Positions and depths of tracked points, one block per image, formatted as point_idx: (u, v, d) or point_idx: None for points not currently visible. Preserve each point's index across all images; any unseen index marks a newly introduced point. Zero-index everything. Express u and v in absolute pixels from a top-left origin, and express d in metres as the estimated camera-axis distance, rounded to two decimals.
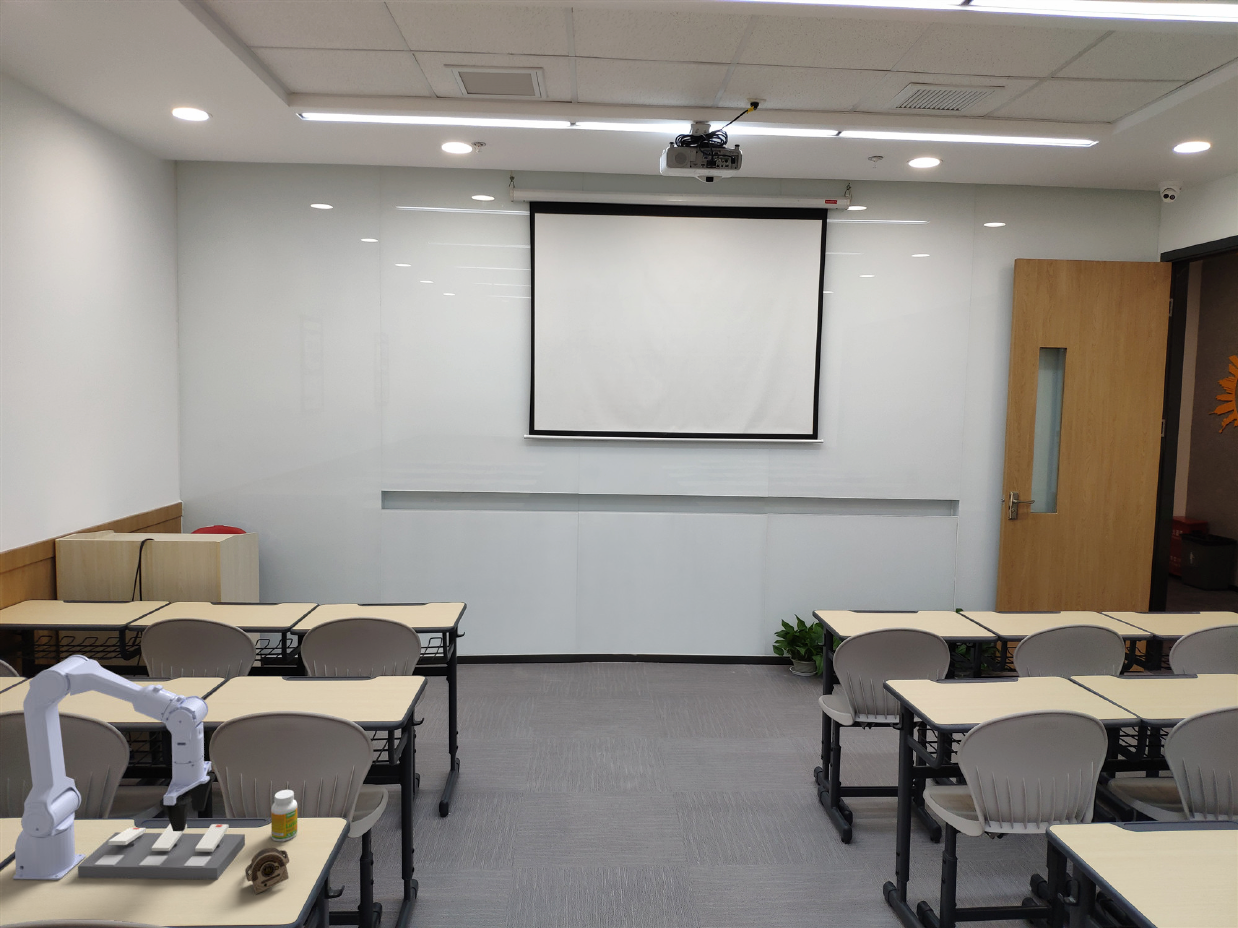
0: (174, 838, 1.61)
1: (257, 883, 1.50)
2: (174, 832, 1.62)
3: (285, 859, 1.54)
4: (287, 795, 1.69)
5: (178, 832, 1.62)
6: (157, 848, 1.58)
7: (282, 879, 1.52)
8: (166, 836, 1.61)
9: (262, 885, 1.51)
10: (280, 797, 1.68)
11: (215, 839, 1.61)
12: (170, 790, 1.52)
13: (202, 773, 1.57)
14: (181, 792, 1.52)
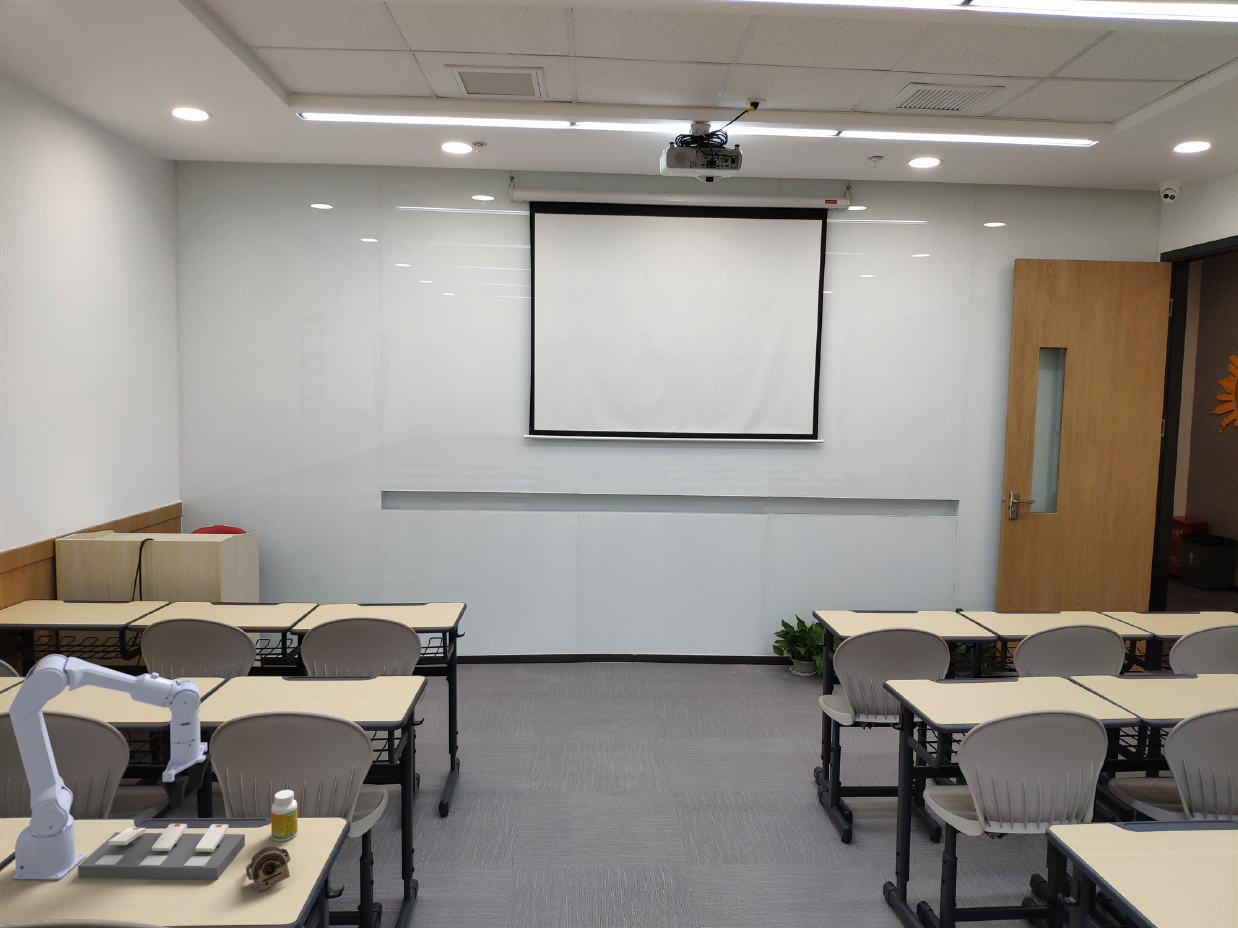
0: (174, 838, 1.61)
1: (258, 882, 1.51)
2: (174, 832, 1.62)
3: (286, 857, 1.54)
4: (287, 795, 1.69)
5: (178, 832, 1.62)
6: (157, 848, 1.58)
7: (283, 877, 1.53)
8: (166, 836, 1.61)
9: (263, 883, 1.51)
10: (280, 797, 1.68)
11: (215, 839, 1.61)
12: (169, 768, 1.62)
13: (199, 752, 1.67)
14: (179, 770, 1.62)
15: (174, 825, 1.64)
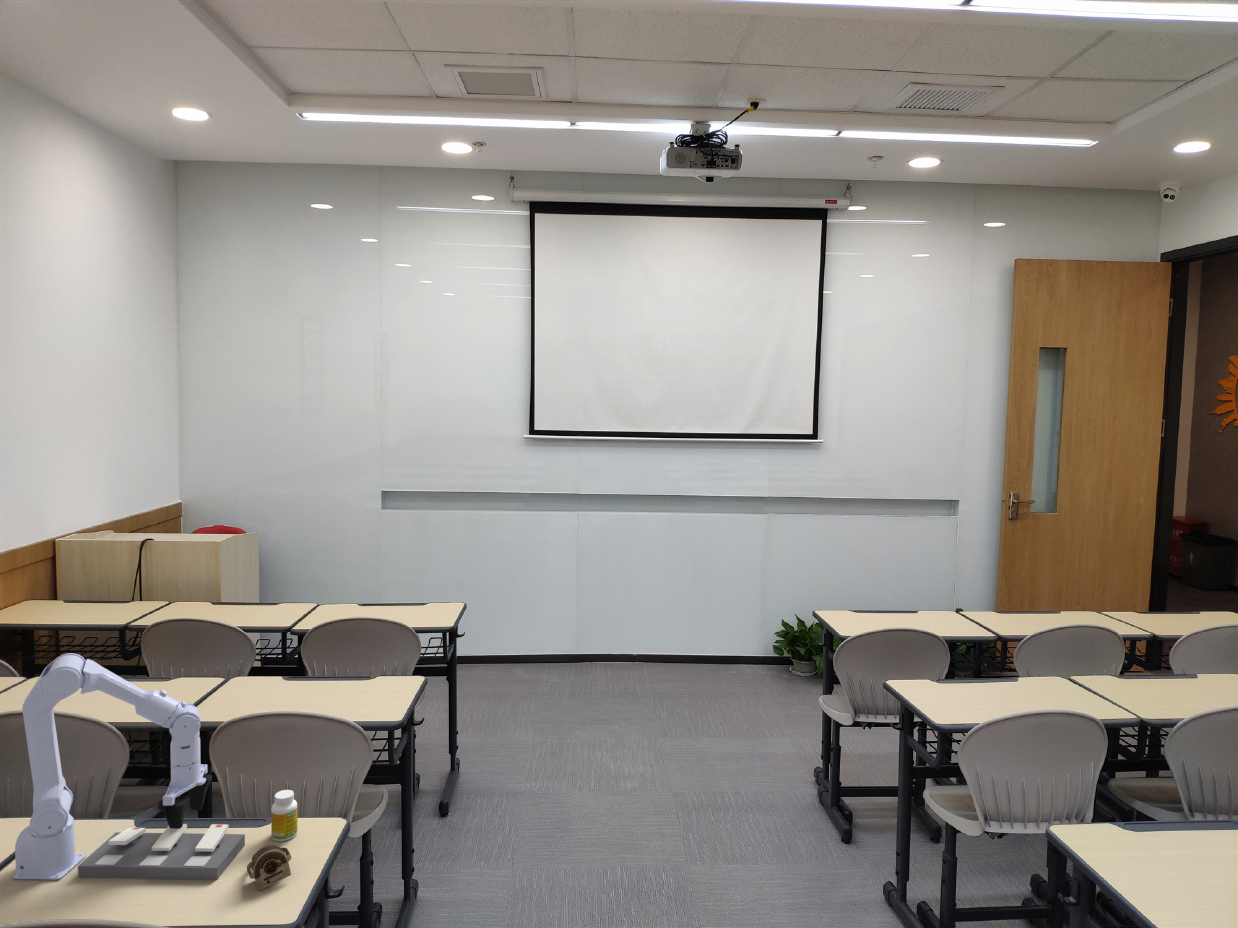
0: (174, 838, 1.61)
1: (260, 880, 1.51)
2: (174, 832, 1.62)
3: (287, 856, 1.55)
4: (287, 795, 1.69)
5: (178, 832, 1.62)
6: (157, 848, 1.58)
7: (285, 876, 1.54)
8: (166, 836, 1.61)
9: (265, 882, 1.52)
10: (280, 797, 1.68)
11: (215, 839, 1.61)
12: (169, 791, 1.63)
13: (199, 775, 1.68)
14: (179, 793, 1.62)
15: None
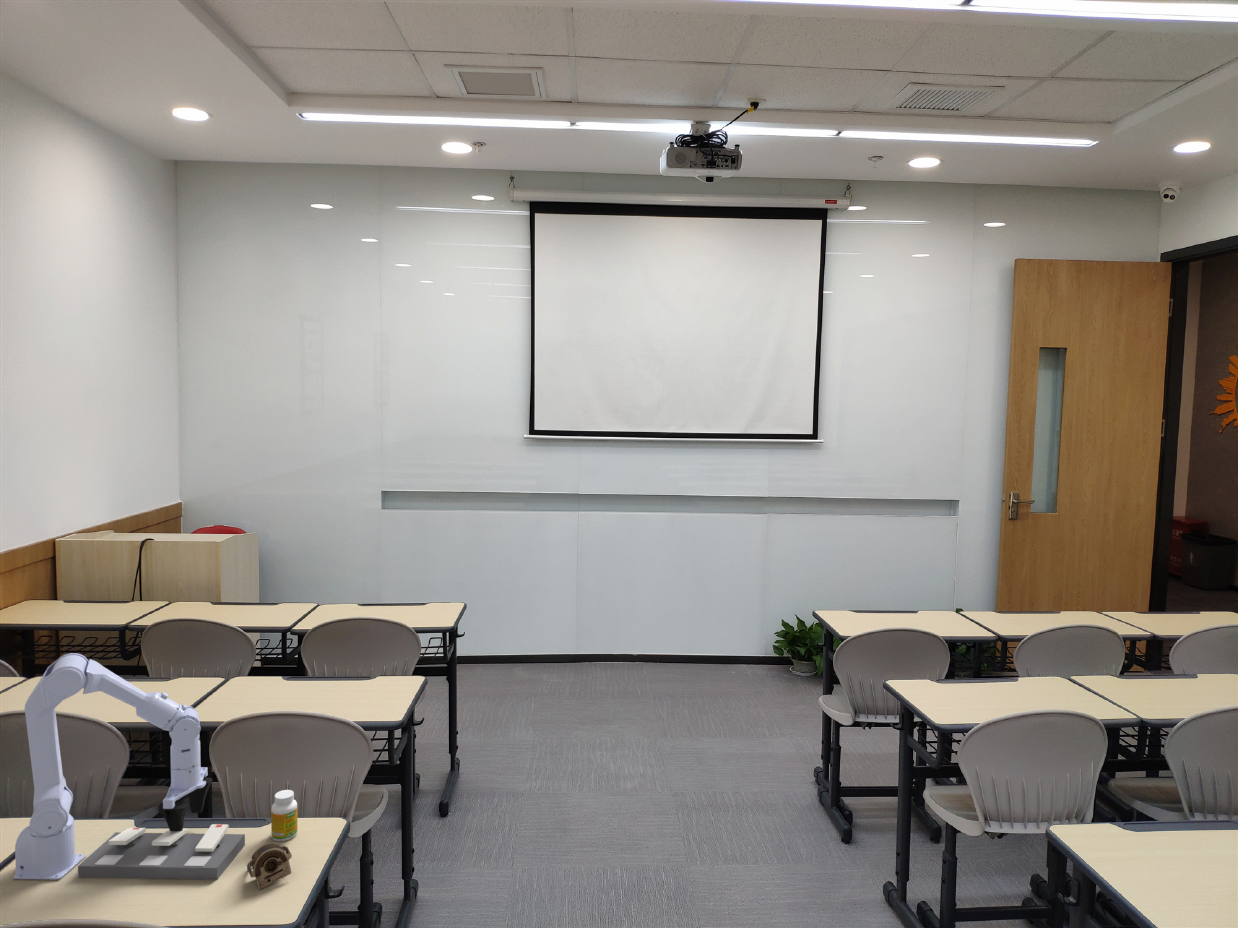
0: (175, 836, 1.61)
1: (260, 879, 1.52)
2: (175, 833, 1.63)
3: (288, 854, 1.55)
4: (287, 795, 1.69)
5: (179, 833, 1.63)
6: (157, 842, 1.58)
7: (285, 874, 1.54)
8: (167, 835, 1.61)
9: (265, 880, 1.52)
10: (280, 797, 1.68)
11: (215, 839, 1.61)
12: (169, 795, 1.63)
13: (199, 778, 1.68)
14: (179, 796, 1.62)
15: None
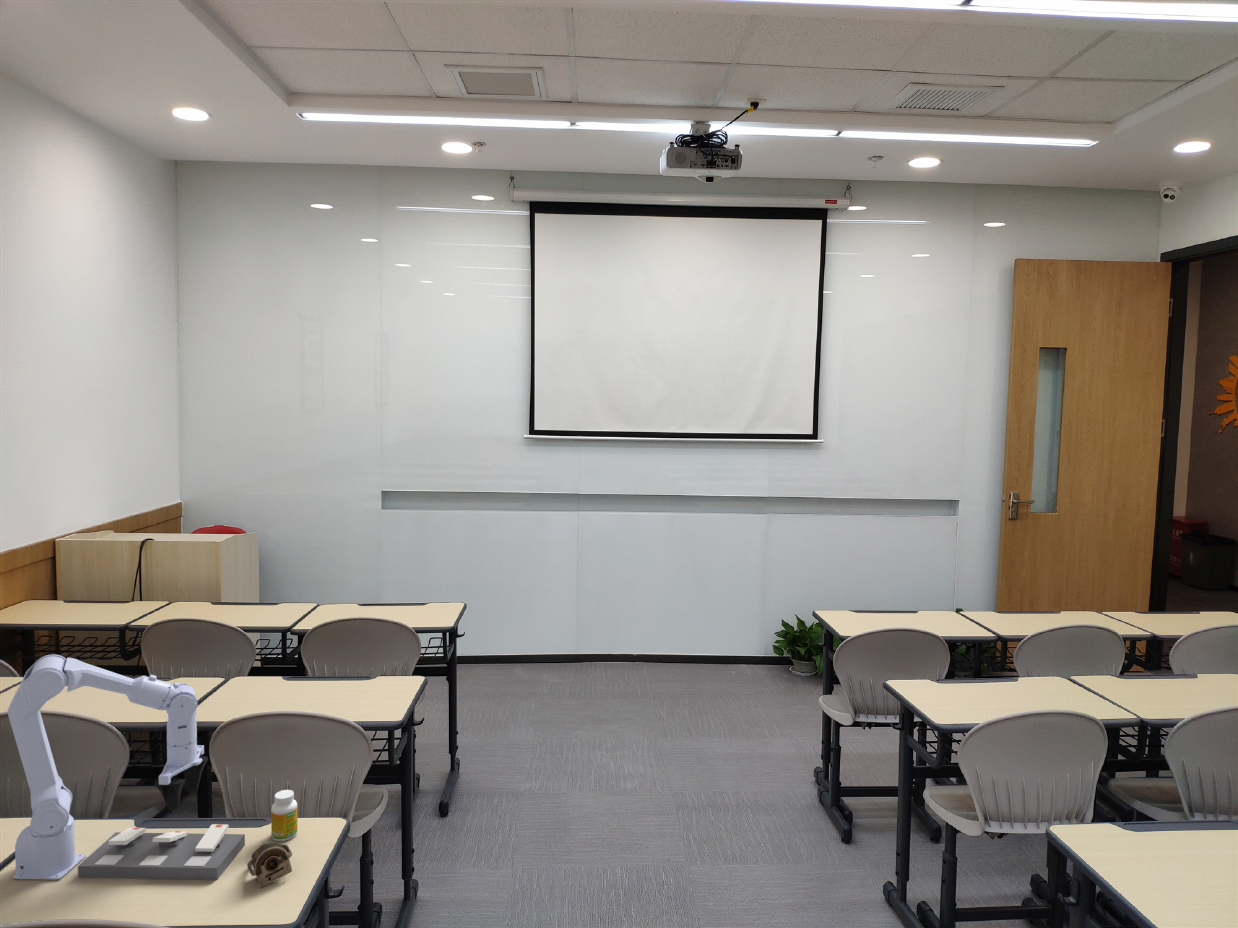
0: (175, 835, 1.61)
1: (261, 877, 1.52)
2: (175, 833, 1.63)
3: (288, 853, 1.56)
4: (287, 795, 1.69)
5: (179, 833, 1.63)
6: (158, 838, 1.58)
7: (286, 872, 1.55)
8: (167, 834, 1.61)
9: (266, 879, 1.53)
10: (280, 797, 1.68)
11: (215, 839, 1.61)
12: (165, 771, 1.63)
13: (195, 755, 1.68)
14: (175, 773, 1.62)
15: None
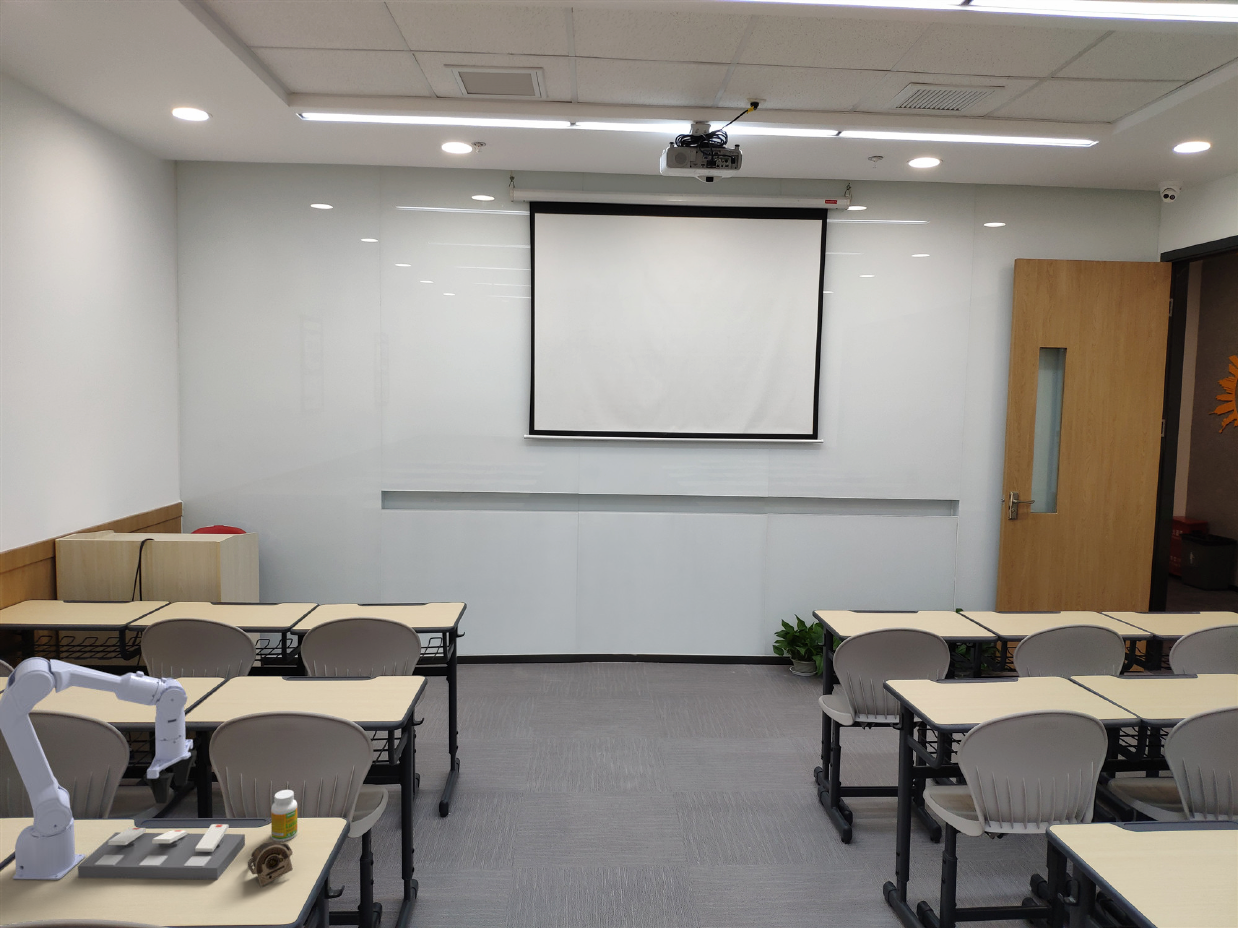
0: (175, 835, 1.61)
1: (262, 876, 1.53)
2: (175, 833, 1.63)
3: (289, 851, 1.56)
4: (287, 795, 1.69)
5: (179, 833, 1.63)
6: (158, 840, 1.58)
7: (286, 871, 1.55)
8: (167, 835, 1.61)
9: (267, 877, 1.53)
10: (280, 797, 1.68)
11: (215, 839, 1.61)
12: (153, 765, 1.63)
13: (184, 749, 1.68)
14: (164, 766, 1.63)
15: (175, 830, 1.65)
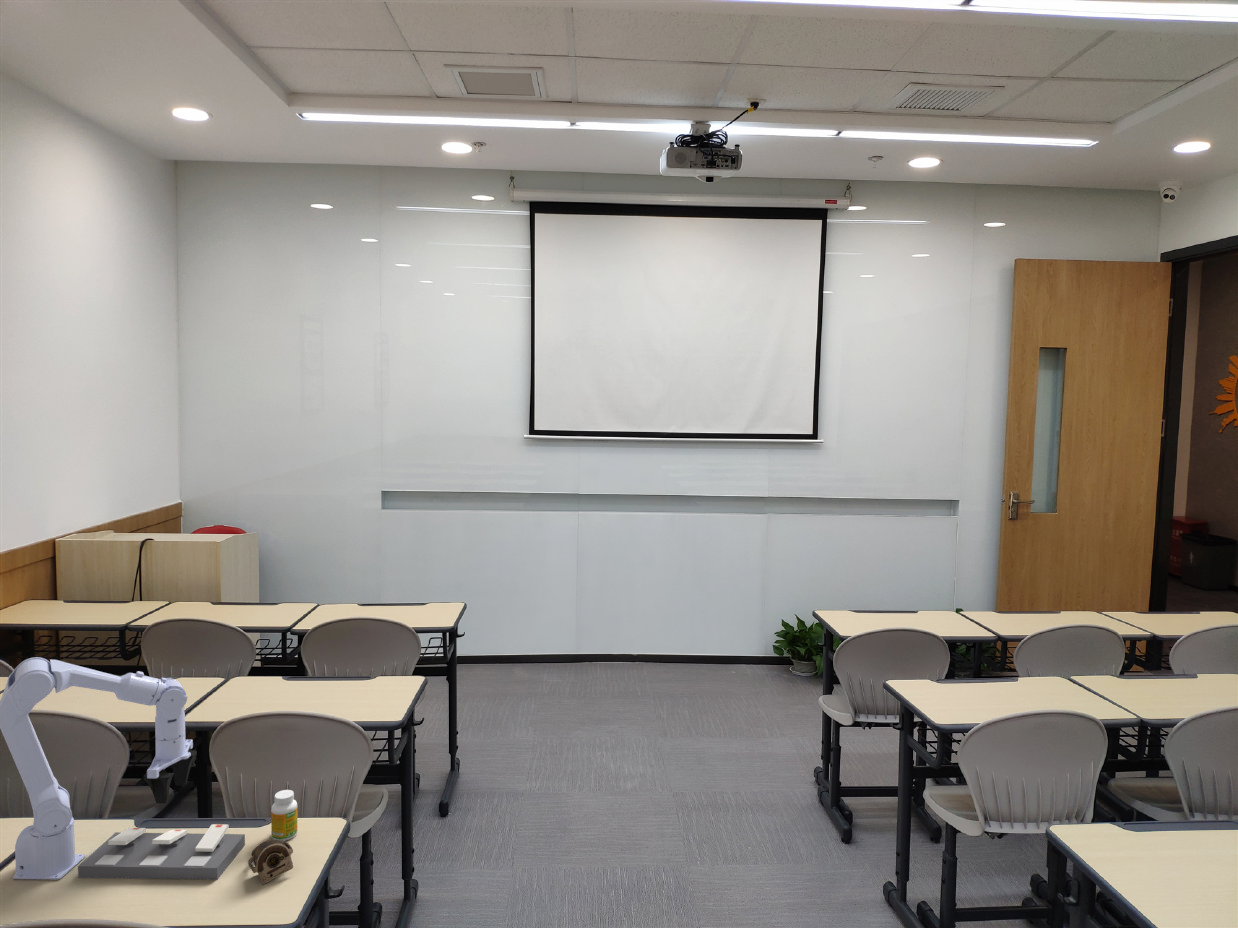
0: (175, 836, 1.61)
1: (263, 874, 1.53)
2: (175, 833, 1.63)
3: (289, 849, 1.57)
4: (287, 795, 1.69)
5: (179, 833, 1.63)
6: (158, 841, 1.58)
7: (287, 869, 1.56)
8: (167, 835, 1.61)
9: (268, 876, 1.54)
10: (280, 797, 1.68)
11: (215, 839, 1.61)
12: (153, 765, 1.63)
13: (184, 749, 1.68)
14: (164, 766, 1.63)
15: (175, 830, 1.65)
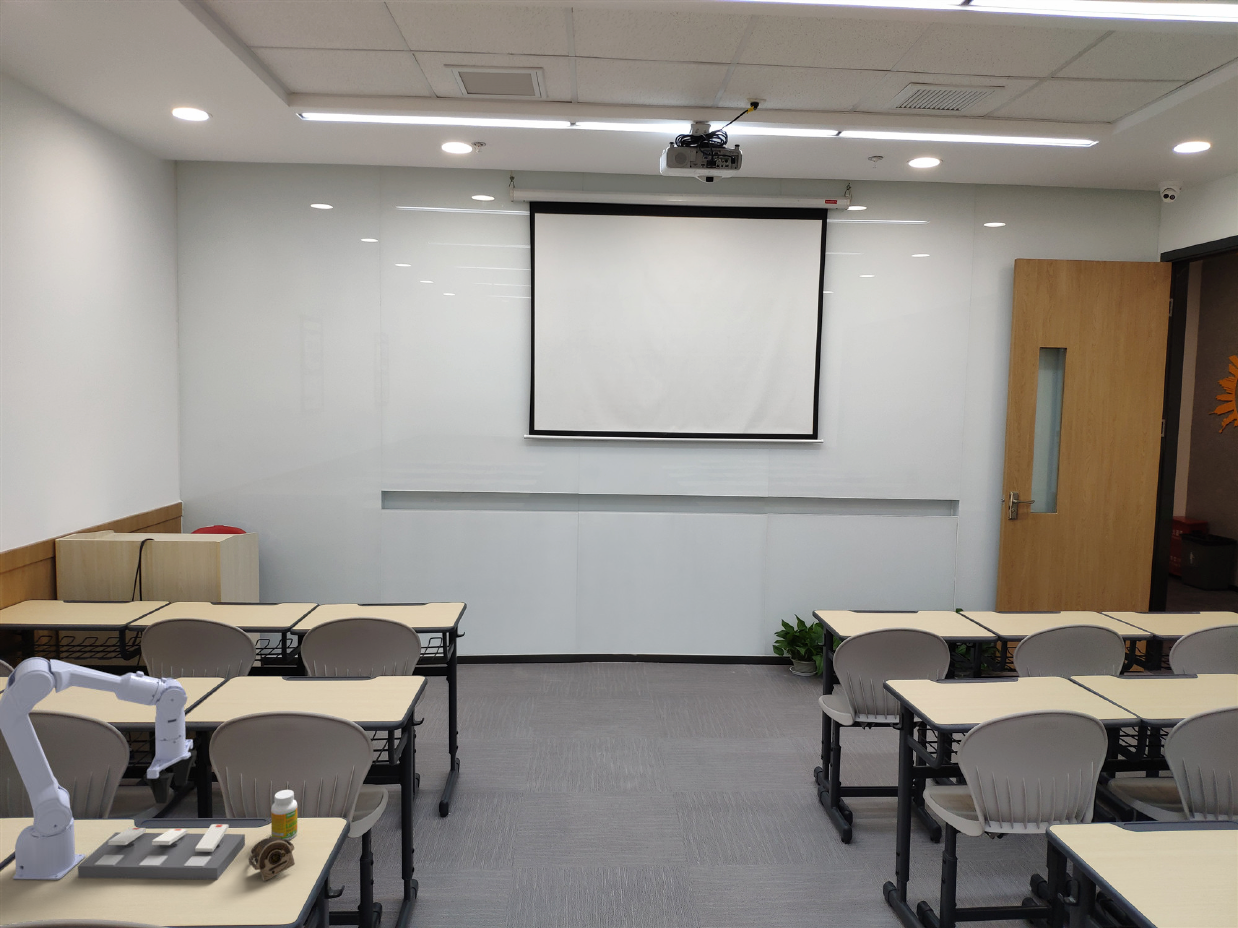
0: (175, 836, 1.61)
1: (265, 871, 1.54)
2: (175, 833, 1.63)
3: (290, 846, 1.58)
4: (287, 795, 1.69)
5: (179, 833, 1.63)
6: (157, 841, 1.58)
7: (289, 865, 1.57)
8: (167, 835, 1.61)
9: (270, 872, 1.55)
10: (280, 797, 1.68)
11: (215, 839, 1.61)
12: (153, 765, 1.63)
13: (184, 749, 1.68)
14: (164, 766, 1.63)
15: (175, 829, 1.65)
